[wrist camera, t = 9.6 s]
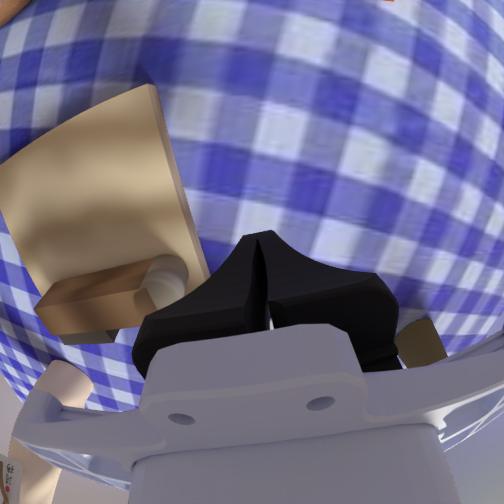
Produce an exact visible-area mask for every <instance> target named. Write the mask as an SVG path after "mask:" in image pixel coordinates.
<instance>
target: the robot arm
mask: <svg viewBox="0 0 504 504" xmlns="http://www.w3.org/2000/svg"><path fill="white" fill-rule="evenodd" d="M270 314H271V318H270ZM398 317H399V306H398V303H397V301H396V298H395V297H394V295H393V294H392V292H391V291H390V289H389V288H388V287H387V285H386V284H385V283H384V282H383V281H382V280H381V279H380V277H379V276H378V275H377V274H376V273H369V272H358V271H350V270H345V269H340V268H336V267H332V266H329V265H326V264H323V263H320V262H317V261H315V260H313V259H310V258H308V257H306V256H304V255H302V254H301V253H299V252H297V251H296V250H295V249H293V248H292V247H291V246H289V245H288V244H287V243H286V242H284V241H283V240H282V239H281V238H280V237H279V236H278V235H277V234H276V233H275V232H274V231H273V230H268V231H263V232H258V233H253V234H248V235H243V236H242V238H241V239H240V241H239V242H238V244H237V245H236V247H235V248H234V250H233V251H232V253H231V254H230V255H229V257H228V258H227V259H226V260H225V262H224V263H223V264H222V265H221V266H220V268H219V269H218V270H217V271H216V272H215V273H214V274H213V275H212V276H210V277H209V278H208V279H207V280H206V281H205V282H204V283H202V284H201V285H200V286H198V287H197V288H196V289H194V290H193V291H192V292H190V293H189V294H187V295H186V296H184V297H182V298H181V299H179V300H177V301H176V302H174V303H172V304H170V305H168V306H166V307H164V308H162V309H160V310H157V311H155V312H153V313H151V314H148V315H146V316H145V317H144V320H143V322H142V325H141V327H140V330H139V332H138V335H137V338H136V340H135V343H134V346H133V350H132V360H133V363H134V365H135V367H136V368H137V370H138V372H139V373H140V374H141V375H142V377H143V378H144V379H145V383H144V387H143V391H142V395H141V398H140V402H139V406H138V407H139V408H138V409H134V410H129V411H124V412H119V413H118V412H108V411H99V410H91V409H83V408H77V407H71V406H65V405H62V403H61V402H60V401H59V400H58V399H57V398H56V397H55V396H54V395H52V394H51V393H49V392H46V391H41V390H36V389H31V391H30V393H29V395H28V397H27V399H26V401H25V403H24V405H23V408H22V410H21V412H20V415H19V417H18V419H17V422H16V424H15V426H14V429H13V431H12V434H11V435H12V437H13V438H15V439H16V440H17V441H18V442H20V443H21V444H22V445H24V446H25V447H26V448H28V449H29V450H31V451H32V452H33V453H35V454H36V455H38V456H39V457H41V458H42V459H44V460H45V461H47V462H48V463H50V464H51V465H53V466H55V467H58V468H60V469H63V470H65V471H68V472H71V473H73V474H76V475H78V476H81V477H84V478H87V479H90V480H92V481H95V482H98V483H101V484H104V485H107V486H111V487H114V488H117V489H121V490H124V491H128V492H130V493H129V499H128V504H461V502H460V499H459V496H458V492H457V489H456V486H455V482H454V479H453V476H452V473H451V470H450V467H449V464H448V462H447V459H446V456H445V453H444V452H445V451H446V450H448V449H450V448H452V447H453V446H455V445H457V444H458V443H460V442H461V441H463V440H465V439H466V438H468V437H469V436H471V435H472V434H474V433H475V432H477V431H478V430H480V429H481V428H483V427H484V426H485V425H487V424H488V423H490V422H491V421H492V420H494V419H495V418H496V417H497V416H499V415H500V414H501V413H503V412H504V324H503V327H502V330H500V331H498V332H496V333H495V334H493V335H491V336H489V337H488V338H486V339H484V340H482V341H480V342H478V343H476V344H474V345H472V346H470V347H468V348H466V349H464V350H462V351H460V352H458V353H456V354H454V355H451V356H449V357H447V358H445V359H443V360H440V361H438V362H436V363H433V364H431V365H428V366H422V367H415V368H408V369H403V368H402V366H401V364H400V362H399V359H398V357H397V355H398V353H399V352H398V348H397V346H396V344H395V342H394V338H395V333H396V328H397V323H398Z"/></svg>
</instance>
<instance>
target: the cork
mask: <svg viewBox="0 0 504 504" xmlns="http://www.w3.org/2000/svg"><path fill="white" fill-rule="evenodd" d="M394 342H395V344H396V346H397V348H398V352H399V353H398V356H399V357H400V359H401V360H402V361H403V363H404V364H405V366H406V367H407V368H415V367H422V366H428V365H431V364H433V363H436V362H438V361H440V360H443V359H445V358H447V357H448V356H447V353H446V351H445V349H444V346H443V344H442V342H441V340H440V337H439V335H438V333H437V331H436V329H435V326H434V324H433V322H432V321H431V320H429V319H420V320H417V321H415V322H413V323H411V324H409V325H408V326H407V327H405V328H404V329H403V330H402V331H401V332H400V333H399V334H398V336H397V337H396V339H395V341H394Z"/></svg>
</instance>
